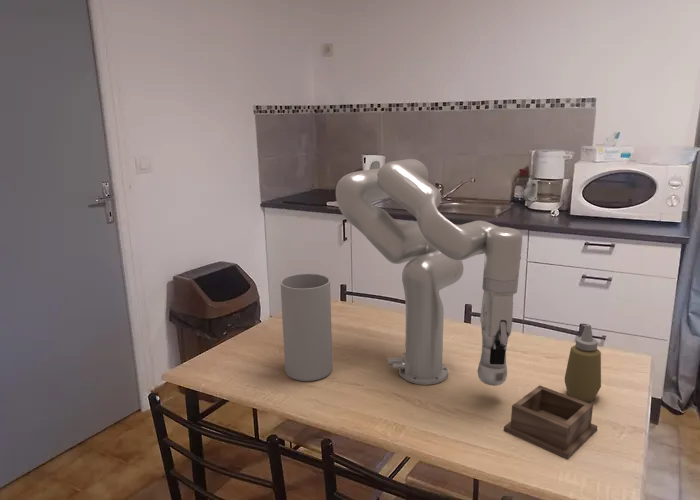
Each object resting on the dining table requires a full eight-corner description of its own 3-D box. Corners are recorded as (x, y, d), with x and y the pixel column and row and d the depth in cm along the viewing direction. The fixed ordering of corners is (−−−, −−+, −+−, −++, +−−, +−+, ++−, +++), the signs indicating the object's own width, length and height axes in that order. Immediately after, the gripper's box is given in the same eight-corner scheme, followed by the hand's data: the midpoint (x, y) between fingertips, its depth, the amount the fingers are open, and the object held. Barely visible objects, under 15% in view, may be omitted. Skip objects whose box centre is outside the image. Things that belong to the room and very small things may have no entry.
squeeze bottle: (596, 408, 125) (604, 335, 120) (559, 399, 129) (566, 328, 125) (602, 393, 132) (610, 323, 127) (566, 384, 136) (573, 316, 131)
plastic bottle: (507, 390, 125) (515, 309, 119) (476, 387, 126) (483, 306, 120) (505, 376, 131) (513, 298, 125) (476, 373, 132) (482, 296, 126)
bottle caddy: (567, 459, 107) (570, 432, 106) (503, 430, 117) (505, 405, 116) (597, 429, 117) (599, 404, 115) (535, 405, 127) (537, 382, 125)
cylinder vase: (342, 369, 145) (340, 280, 139) (307, 387, 136) (303, 292, 130) (310, 356, 154) (306, 270, 147) (275, 372, 145) (270, 282, 138)
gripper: (475, 271, 130) (469, 341, 135) (492, 297, 113) (485, 375, 118) (507, 271, 130) (500, 341, 135) (528, 297, 113) (520, 376, 118)
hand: (493, 356), depth 127 cm, fingers closed on plastic bottle, 5 cm apart
